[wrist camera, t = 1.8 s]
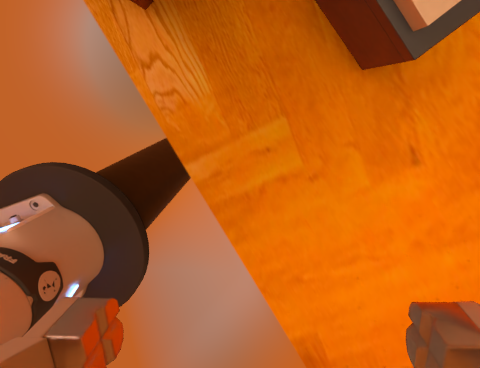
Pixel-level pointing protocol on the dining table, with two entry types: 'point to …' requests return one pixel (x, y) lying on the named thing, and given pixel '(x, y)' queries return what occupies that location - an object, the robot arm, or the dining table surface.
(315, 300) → the dining table surface
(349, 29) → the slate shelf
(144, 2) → the walnut shelf
